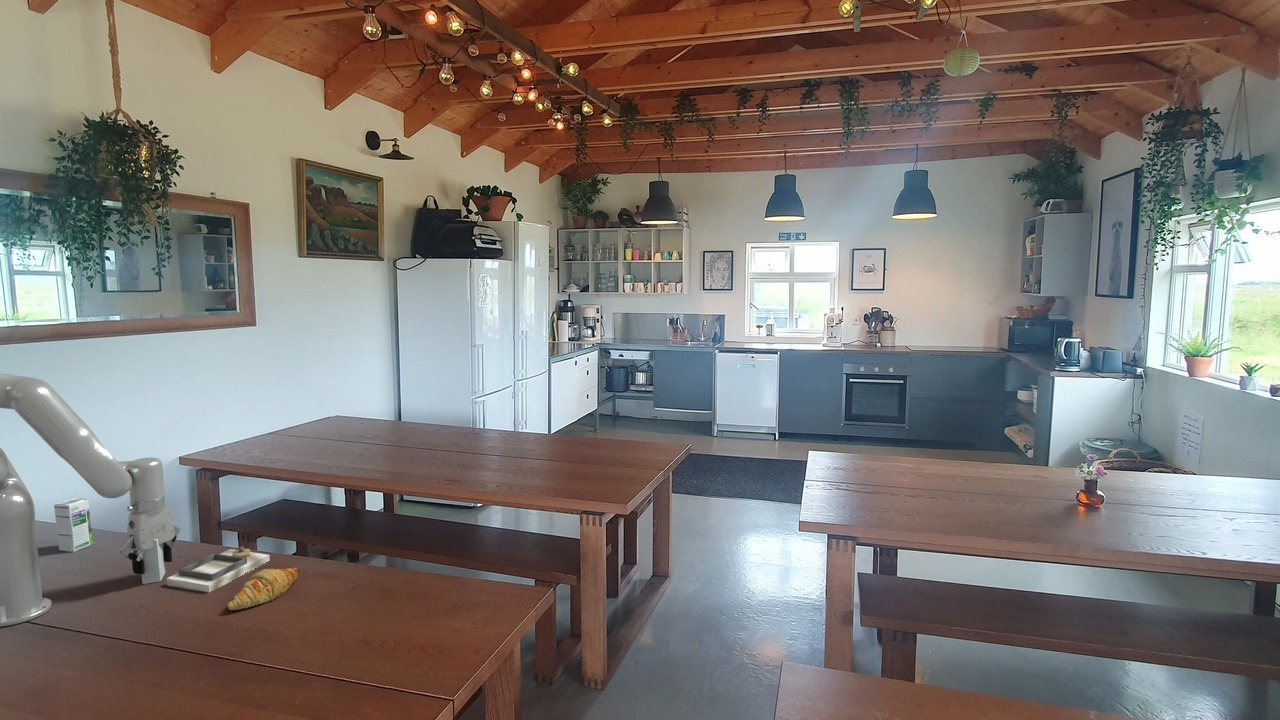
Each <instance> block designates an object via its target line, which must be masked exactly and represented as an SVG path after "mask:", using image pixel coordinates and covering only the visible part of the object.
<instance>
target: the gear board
mask: <svg viewBox="0 0 1280 720" xmlns="http://www.w3.org/2000/svg"><path fill="white" fill-rule="evenodd" d="M270 559H271V558H270V554H265V553H259V552H253V551H251V549H250V548H244V546H242V545H241V546H239V547H238V549H232V548H230V549H227V550H225V551H223V552H221V553H213V554H211V555H210V554H209V556H206V557H204V558H202V559H199V560H198V561H195V562H193V563H191V564H189V565H186V566H184V567H182V568H180V569H178V573H175V574H173V575H171V576H168V577H167V578H166V585H167V586H169V587H172V588H174V587H175V588H179V589H185V590H192V591H198V592H202V591H203V593H212V592H214V591H216V590H217V588H218V589H220V588H221V587H223V586H225V585H227V584H229V583H231V582H233V581H235V580H237V579H239V578H241V577H242V575H243V576H245V575H246V574H245V573H247V572H248V573H250V572H252V571H254V570H256V569H259V568H260V567H262V566H264V565H266V564H267V563H266V562H268V561H271V560H270ZM265 563H266V564H265ZM268 563H269V562H268ZM263 564H264V565H263ZM261 565H262V566H261ZM259 566H260V567H259ZM255 568H256V569H255ZM251 570H252V571H251ZM249 571H250V572H249ZM248 573H247V574H248ZM244 574H245V575H244ZM240 576H241V577H240ZM238 577H239V578H238ZM236 578H237V579H236ZM234 579H235V580H234ZM232 580H233V581H232ZM211 591H212V592H211Z"/></svg>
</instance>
